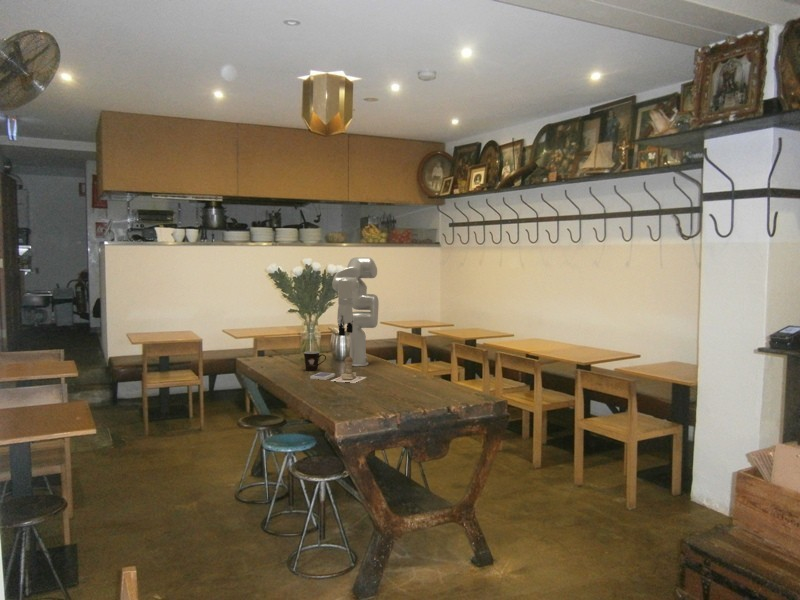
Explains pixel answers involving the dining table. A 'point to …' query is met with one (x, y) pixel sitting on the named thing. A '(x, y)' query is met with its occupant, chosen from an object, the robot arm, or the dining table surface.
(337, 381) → the paper sheet
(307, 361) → the coffee mug
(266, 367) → the dining table surface
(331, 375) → the ink pad
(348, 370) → the stamp
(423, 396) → the dining table surface
